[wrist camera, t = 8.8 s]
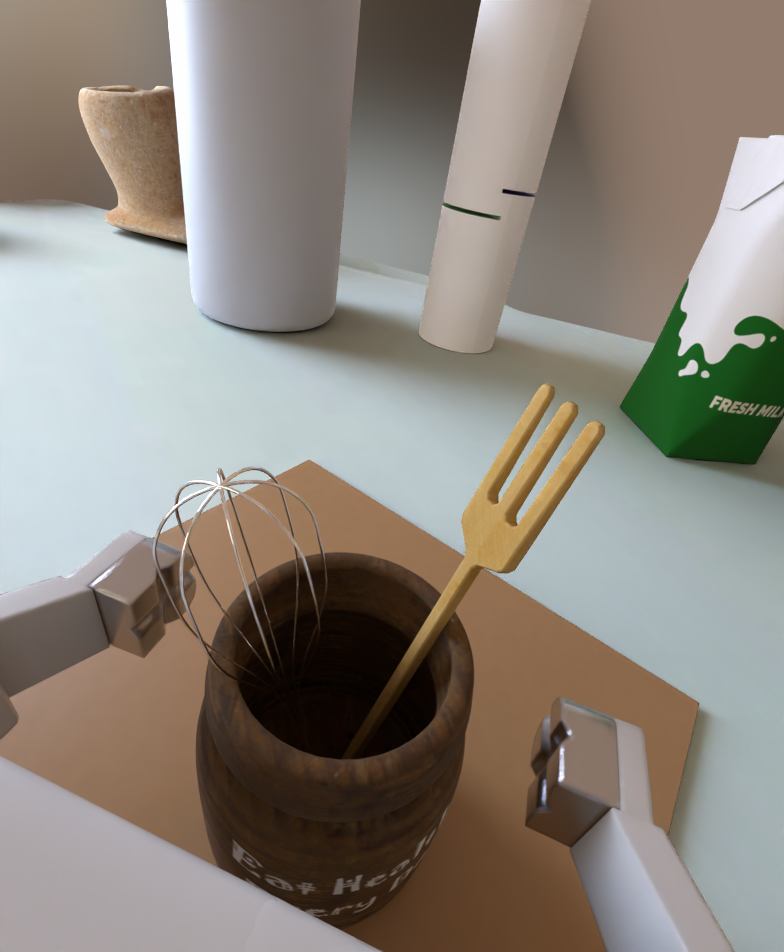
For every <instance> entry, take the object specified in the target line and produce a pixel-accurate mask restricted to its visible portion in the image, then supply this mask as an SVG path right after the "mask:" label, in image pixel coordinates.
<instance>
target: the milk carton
mask: <svg viewBox="0 0 784 952" xmlns="http://www.w3.org/2000/svg"><path fill="white" fill-rule="evenodd" d="M620 408H621V409H622V410H623V411H624V412H625V413H626V414H627V415H628V416H629V417H630V419H631V420H632V421H633V422H634V423H635V424H636V425H637V426H638V427H639V428H640V429H641V430H642V431H643V432H644V433H645V434H646V435H647V436H648V437H649V439H650V440H651V441H652V442H653V443H654V444H655V445H656V446H657V447H658V448H659V449H660V450H661V451H662V452H663V453H664V454H665V455H666V456H667V457H679V458H690V459H701V460H713V461H724V462H735V463H747V464H756V462H757V460H758V459H759V457H760V455H761V454H762V452H763V450H764V449H765V447H766V445H767V444H768V442H769V440H770V439H771V437H772V435H773V434H774V432H775V430H776V429H777V427H778V425H779V424H780V422H781V420H782V419H783V417H784V136H782V135H773V136H770V137H769V138H768V139H767V138H749V137H740V138H739V142H738V146H737V149H736V153H735V156H734V160H733V163H732V167H731V170H730V174H729V177H728V181H727V184H726V188H725V191H724V195H723V198H722V202H721V205H720V208H719V212H718V214H717V217H716V220H715V222H714V224H713V226H712V228H711V231H710V233H709V235H708V237H707V239H706V241H705V243H704V245H703V247H702V249H701V251H700V253H699V256H698V258H697V260H696V262H695V264H694V266H693V268H692V270H691V272H690V274H689V276H688V278H687V280H686V282H685V285H684V287H683V289H682V291H681V293H680V295H679V297H678V299H677V301H676V303H675V305H674V307H673V310H672V311H671V313H670V316H669V318H668V320H667V322H666V324H665V326H664V328H663V330H662V332H661V334H660V336H659V338H658V340H657V342H656V344H655V346H654V348H653V350H652V352H651V354H650V356H649V357H648V359H647V361H646V363H645V364H644V366H643V368H642V369H641V371H640V373H639V374H638V376H637V378H636V380H635V381H634V383H633V385H632V386H631V388H630V390H629V391H628V393H627V395H626V397H625V398H624V400H623V402H622V403H621V405H620Z"/></svg>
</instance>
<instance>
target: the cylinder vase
mask: <svg viewBox="0 0 784 952" xmlns="http://www.w3.org/2000/svg"><path fill="white" fill-rule="evenodd" d="M166 2H167V12H168V25H169V37H170V48H171V60H172V72H173V84H174V96H175V107H176V119H177V131H178V142H179V154H180V166H181V178H182V189H183V201H184V213H185V224H186V236H187V248H188V259H189V271H190V283H191V294H192V300H193V302H194V304H195V305H196V307H197V308H198V309H199V310H200V311H201V312H202V313H204V314H205V315H207V316H208V317H210V318H212V319H214V320H216V321H219V322H222V323H225V324H228V325H231V326H235V327H239V328H244V329H250V330H258V331H270V332H290V331H300V330H306V329H311V328H314V327H317V326H320V325H322V324H324V323H326V322H327V321H328V320H329V319H330V318H331V317H332V316H333V314H334V311H335V304H336V292H337V280H338V268H339V256H340V244H341V243H340V242H341V231H342V219H343V207H344V194H345V183H346V171H347V159H348V147H349V135H350V123H351V111H352V98H353V87H354V75H355V63H356V51H357V39H358V27H359V14H360V2H361V0H166Z"/></svg>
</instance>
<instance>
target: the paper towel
mask: <svg viewBox="0 0 784 952" xmlns="http://www.w3.org/2000/svg"><path fill="white" fill-rule="evenodd" d="M275 478H276V479H277V481H278V482H279V484H280V485H281V486H284V487H286V488H288V489H290V490H291V491H293V492H294V493H296V494H297V495H298V496H300V497H301V498H302V499H303V500H304V501H305V502H306V503H307V505H308V506H309V507H310V509H311V510H312V512H313V514H314V517H315V520H316V523H317V526H318V530H319V534H320V539H321V543H322V547H323V552H324V553H331V552H348V553H358V554H365V555H370V556H374V557H378V558H382V559H385V560H388V561H391V562H393V563H396V564H398V565H400V566H403V567H404V568H406V569H408V570H410V571H412V572H414V573H415V574H417V575H418V576H420V577H421V578H423V579H424V580H426V581H427V582H428V583H429V584H431V585H432V586H433V587H434V588H435V589H436V590H437V591H438V592H439V593H440V594H441V595H442V593H443V592H444V590H445V589H446V587H447V585H448V584H449V582H450V580H451V579H452V577H453V576H454V574H455V572H456V571H457V569H458V567H459V566H460V564H461V562H462V561H463V559H464V557H465V556H463V555H461V554H460V553H458V552H457V551H455V550H453V549H452V548H450V547H449V546H447V545H445V544H444V543H442V542H441V541H439V540H437V539H436V538H434V537H433V536H431V535H429V534H428V533H426V532H425V531H423V530H421V529H420V528H418V527H417V526H415V525H413V524H412V523H410V522H409V521H407V520H405V519H404V518H402V517H401V516H399V515H397V514H396V513H394V512H393V511H391V510H389V509H388V508H386V507H385V506H383V505H381V504H380V503H378V502H377V501H375V500H373V499H372V498H370V497H368V496H367V495H365V494H364V493H362V492H360V491H359V490H357V489H356V488H354V487H352V486H351V485H349V484H348V483H346V482H344V481H343V480H341V479H340V478H338V477H336V476H335V475H333V474H332V473H330V472H328V471H327V470H325V469H324V468H322V467H320V466H319V465H317V464H316V463H314V462H312V461H311V460H308V461H306V462H304V463H302V464H300V465H298V466H296V467H294V468H292V469H290V470H288V471H286V472H284V473H282V474H280V475H278V476H276V477H275ZM268 482H272V483H275V482H274V480H273V479H270V480H268ZM282 491H283V494H284V497H285V500H286V504H287V508H288V511H289V515H290V519H291V523H292V527H293V531H294V536H295V541H296V542H297V544H298V546H299V547H300V549H301V551H302V553H303V555H304V556H309V555H314V554H320V553H321V551H320V547H319V543H318V538H317V534H316V530H315V526H314V523H313V520H312V518H311V515H310V513H309V511H308V510H307V508H306V507H305V506H304V505H303V504H302V503H301V501H299V500H298V499H297V498H296V497H295V496H293V495H292V494H290V493H289V492H287V491H285V490H283V489H282ZM243 493H244V494H246V495H247V496H249V497H251V498H253V499H254V500H255V501H257V502H258V503H260V504H261V505H263V506H264V507H265V508H266V509H268V510H269V511H270V512H271V513H272V514H273V515H274V516H275V517H276V518H277V519H278V520H279V521H280V522H281V523H282V524H283V525H284V526H285V527H286V529H287V530H288V531H289V533H290V534H291V530H290V526H289V522H288V518H287V515H286V511H285V507H284V503H283V500H282V497H281V494H280V491H279V489H278V488H277V487H274V486H270V485H266V484H259V485H257V486H255V487H253V488H251V489H249V490H247V491H245V492H243ZM232 499H233V502H234V505H235V508H236V511H237V515H238V518H239V521H240V524H241V527H242V530H243V533H244V536H245V540H246V543H247V546H248V549H249V552H250V556H251V559H252V562H253V566H254V569H255V572H256V576H257V578H258V577H260V576H261V575H263V574H264V573H266V572H268V571H269V570H271V569H273V568H275V567H277V566H279V565H281V564H284V563H286V562H288V561H291V560H294V559H295V551H294V544H293V543H292V541H291V540H290V538H289V537H288V536H287V534H286V533H285V532H284V531H283V529H282V528H281V527H280V526H279V525H278V524H277V523H276V522H275V521H274V520H273V519H272V518H271V517H270V516H269V515H268V514H267V513H266V512H264V511H263V510H262V509H261V508H259V507H258V506H257V505H255V504H254V503H252V502H251V501H249V500H247V499H246V498H244V497H242V496H240V495H237V496H235V497H233V498H232ZM226 505H227V510H228V514H229V518H230V522H231V526H232V530H233V534H234V538H235V542H236V545H237V549H238V553H239V556H240V560H241V563H242V567H243V570H244V574H245V577H246V581H247V584H248V585H249V584H251V583H252V582H253V581H254V580H255V578H254V574H253V571H252V568H251V564H250V561H249V558H248V555H247V552H246V548H245V545H244V542H243V539H242V536H241V533H240V530H239V527H238V523H237V520H236V517H235V514H234V511H233V508H232V505H231V502H230V499H229V500H227V501H226ZM193 519H194V517H193V518H191V519H189V520H187V521H185V522H183V523H182V526H183V529H184V531H185V534H186V535H187V532H188V530H189V527H190V525H191V523H192V521H193ZM291 535H292V534H291ZM154 538H155V537H153V538H152V539H154ZM158 541H159V542H162V543H164V544H166V545H169V546H171V547H174V548H176V549H179V550H181V551H182V549H183V545H184V541H185V540H184V537H183V535H182V532H181V530H180V527H179V525H177V526H175V527H173V528H171V529H169V530H167V531H165V532H163V533H161V534H159V537H158ZM188 542H189V544H190V547H191V549H192V552H193V554H194V557H195V559H196V561H197V564H198V566H199V568H200V570H201V572H202V574H203V576H204V578H205V580H206V582H207V584H208V586H209V587H210V589H211V591H212V592H213V594H214V595H215V597H216V599H217V600H218V602H219V603H220V604H221V606H222V607H223V609H224V610H225V611H227V609H228V608H229V606H230V605H231V604H232V602H233V601H234V600H235V599H236V597H237V596H238V595H239V594H240V593H241V592H242V591H243V590H244V589H245V587H244V584H243V580H242V577H241V574H240V570H239V567H238V563H237V560H236V556H235V553H234V549H233V545H232V541H231V538H230V534H229V530H228V526H227V522H226V518H225V514H224V509H223V505H222V503H221V504H219V505H217V506H215V507H213V508H211V509H209V510H207V511H205V512H203V513H201V514H200V515H199V517H198V519H197V521H196V523H195V525H194V528H193V530H192V532H191V535H190V538H189V541H188ZM186 553H188V554H190V552H189V550H188V547H187V549H186ZM297 553H298V551H297ZM298 558H301V557H300V554H299V553H298ZM189 571H190V572H191V574H192V575H193V576H194V578H195V579H196V592H195V597H194V599H193V600H192V602H191V604H190V606H189V608H190V610H191V613H192V615H193V617H194V620H195V622H196V625H197V627H198V629H199V632H200V634H201V636H202V638H203V640H204V641H205V642H206V643H207V644H209V645H210V646H211V647H212V642H213V639H214V636H215V633H216V631H217V628H218V626H219V624H220V621H221V620H222V618H223V616H224V613H223V612H222V611H221V609H220V608H219V606H218V605H217V603H216V602H215V601H214V599H213V597H212V596H211V594H210V593H209V591H208V589H207V588H206V586H205V584H204V583H203V581H202V579H201V577H200V575H199V573H198V571H197V569H196V566H195V564H194V566H193V567H192V568H191V569H190V570H189ZM455 612H456V614H457V615H458V617H459V619H460V621H461V623H462V624H463V627H464V629H465V631H466V633H467V636H468V639H469V642H470V646H471V650H472V655H473V661H474V688H473V698H472V706H471V712H470V718H469V722H468V725H467V729H466V732H465V749H464V759H463V764H462V769H461V773H460V777H459V781H458V784H457V787H456V790H455V793H454V796H453V799H452V801H451V804H450V806H449V808H448V810H447V812H446V815H445V817H444V819H443V821H442V823H441V825H440V827H439V829H438V831H437V833H436V835H435V837H434V839H433V840H432V842H431V844H430V846H429V848H428V850H427V851H426V853H425V855H424V857H423V859H422V860H421V862H420V864H419V865H418V867H417V869H416V870H415V872H414V873H413V875H412V876H411V878H410V879H409V880H408V882H407V883H406V884H405V885H404V887H403V888H402V889H401V890H400V892H399V893H398V894H397V895H396V896H395V897H394V898H393V899H392V900H391V901H390V902H389V903H387V904H386V905H385V906H384V907H383V908H382V909H380V910H379V911H377V912H376V913H375V914H373V915H372V916H370V917H369V918H367V919H365V920H364V921H362V922H360V923H358V924H356V925H353V926H351V927H348V928H345V929H342V930H341V931H343V932H345V933H347V934H349V935H351V936H353V937H355V938H357V939H359V940H361V941H363V942H365V943H367V944H369V945H370V946H372V947H374V948H376V949H378V950H380V951H382V952H607V951H606V948H605V946H604V943H603V940H602V938H601V935H600V932H599V929H598V927H597V924H596V921H595V918H594V916H593V913H592V910H591V907H590V905H589V902H588V899H587V897H586V894H585V891H584V888H583V886H582V883H581V880H580V877H579V875H578V872H577V869H576V867H575V864H574V861H573V858H572V856H571V853H570V849H571V848H570V847H568V846H566V845H564V844H562V843H560V842H558V841H556V840H553V839H551V838H549V837H547V836H545V835H543V834H541V833H539V832H536V831H534V830H532V829H530V828H528V827H526V826H525V818H526V807H527V795H528V788H529V787H530V785H531V784H532V782H533V781H534V779H535V778H536V776H535V774H534V772H533V770H532V767H531V765H530V762H531V753H532V747H533V741H534V738H535V735H536V732H537V729H538V726H539V725H540V723H541V721H542V719H543V718H544V717H548V716H551V705H552V704H553V702H554V701H555V700H556V698H558V697H562V698H565V699H568V700H571V701H573V702H576V703H579V704H581V705H584V706H587V707H589V708H592V709H595V710H598V711H600V712H603V713H606V714H608V715H611V717H614V718H616V719H619V720H622V721H625V722H627V723H630V724H633V725H635V726H638V727H640V728H641V729H642V731H643V733H644V735H645V744H646V754H647V763H648V772H649V781H650V790H651V799H652V809H653V818H654V825H656V826H658V827H661V828H663V829H664V831H665V833H666V835H667V836H668V834H669V829H670V825H671V821H672V817H673V813H674V808H675V804H676V800H677V796H678V791H679V787H680V783H681V779H682V775H683V770H684V766H685V762H686V758H687V754H688V749H689V745H690V741H691V737H692V733H693V728H694V724H695V720H696V716H697V712H698V707H699V703H698V702H697V701H695V700H694V699H692V698H690V697H689V696H687V695H686V694H684V693H682V692H681V691H679V690H678V689H676V688H674V687H673V686H671V685H670V684H668V683H666V682H665V681H663V680H662V679H660V678H658V677H657V676H655V675H654V674H652V673H650V672H649V671H647V670H646V669H644V668H642V667H641V666H639V665H638V664H636V663H634V662H633V661H631V660H630V659H628V658H626V657H625V656H623V655H622V654H620V653H618V652H617V651H615V650H614V649H612V648H610V647H609V646H607V645H606V644H604V643H602V642H601V641H599V640H598V639H596V638H594V637H593V636H591V635H590V634H588V633H586V632H585V631H583V630H582V629H580V628H578V627H577V626H575V625H573V624H572V623H570V622H569V621H567V620H565V619H564V618H562V617H561V616H559V615H557V614H556V613H554V612H553V611H551V610H549V609H548V608H546V607H545V606H543V605H541V604H540V603H538V602H537V601H535V600H533V599H532V598H530V597H529V596H527V595H525V594H524V593H522V592H521V591H519V590H517V589H516V588H514V587H513V586H511V585H509V584H508V583H506V582H505V581H503V580H501V579H500V578H498V577H497V576H495V575H493V574H492V573H490V572H489V571H487V570H485V569H484V568H482V569H481V571H480V572H479V574H478V576H477V577H476V579H475V580H474V582H473V583H472V585H471V586H470V588H469V589H468V591H467V593H466V594H465V596H464V597H463V599H462V600H461V602H460V603H459V605H458V607H457V608H456V610H455ZM182 616H183V617H184V619H185V620H186V622H187V623H188V625H189V626H190V627H191V628H192V629H193V631H194V632H195V629H194V627H193V625H192V622H191V620H190V618H189V615H188V613H187V611H186V612H185V613H184V614H183V615H182ZM195 633H196V632H195ZM207 648H208V647H207ZM208 650H209V652H210V651H211V650H210V649H209V648H208ZM208 660H209V657H208V656H207V654H206V652H205V650H204V648H203V647H202V645H201V643H200V641H199V640H198V639H197V638H196V637H195V636H194V635H193V634H192V633H191V632H190V631H189V630H188V628H187V627H186V626H185V625H184V623H183V622H182V620H181V619H178V620H175V621H173V622H170V623H168V624H167V625H166V635H165V636H164V637H163V638H162V639H161V640H160V641H159V642H158V643H157V645H156V646H155V647H154V648H153V649H152V650H151V651H150V652H149V653H148V655H147V656H146V657H145V658H142V657H139V656H137V655H134V654H132V653H129V652H127V651H124V650H122V649H119V648H117V647H114V646H112V645H110V647H109V648H107V649H105V650H103V651H101V652H99V653H97V654H95V655H93V656H91V657H89V658H87V659H85V660H83V661H81V662H79V663H77V664H75V665H73V666H71V667H70V668H68V669H66V670H64V671H62V672H60V673H58V674H56V675H54V676H52V677H50V678H48V679H46V680H44V681H42V682H40V683H38V684H36V685H34V686H32V687H30V688H28V689H26V690H24V691H22V692H20V693H18V694H16V695H14V696H12V697H10V700H11V702H12V704H13V705H14V707H15V709H16V711H17V713H18V714H19V718H18V723H17V724H16V725H15V726H14V727H13V728H12V729H11V730H10V731H9V732H8V733H7V734H6V735H5V736H4V737H3V738H2V739H1V740H0V756H2V757H4V758H6V759H8V760H10V761H12V762H14V763H16V764H17V765H19V766H21V767H23V768H25V769H27V770H29V771H31V772H33V773H35V774H37V775H39V776H41V777H43V778H45V779H47V780H49V781H51V782H53V783H55V784H56V785H58V786H60V787H62V788H64V789H66V790H68V791H70V792H72V793H74V794H76V795H78V796H80V797H82V798H84V799H86V800H88V801H90V802H92V803H94V804H96V805H97V806H99V807H101V808H103V809H105V810H107V811H109V812H111V813H113V814H115V815H117V816H119V817H121V818H123V819H125V820H127V821H129V822H131V823H133V824H135V825H136V826H138V827H140V828H142V829H144V830H146V831H148V832H150V833H152V834H154V835H156V836H158V837H160V838H162V839H164V840H166V841H168V842H170V843H172V844H174V845H175V846H177V847H179V848H181V849H183V850H185V851H187V852H189V853H191V854H193V855H195V856H197V857H199V858H201V859H203V860H205V861H207V862H209V863H211V864H213V865H214V866H216V867H218V866H217V864H216V861H215V858H214V856H213V853H212V850H211V846H210V843H209V840H208V836H207V831H206V826H205V821H204V816H203V811H202V806H201V800H200V794H199V788H198V780H197V771H196V731H197V724H198V718H199V714H200V709H201V705H202V701H203V698H204V691H205V677H206V670H207V664H208Z"/></svg>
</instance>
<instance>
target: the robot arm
mask: <svg viewBox="0 0 784 952" xmlns="http://www.w3.org/2000/svg"><path fill="white" fill-rule="evenodd" d="M153 543H154V539H152V538H150V537H147V536H145V535H142V534H140V533H137V532H134V531H132V530H131V531H128V532H125V533H122V534H121V535H119V536H118V537H117V538H116V539H114V540H113V541H112V542H111V543H109V544H108V545H107V546H106V547H104V548H103V549H102V550H101V551H99V552H98V553H97V554H95V555H94V556H93V557H92V558H90V559H89V560H88V561H87V562H85V563H84V564H83V565H82V566H80V567H79V568H78V569H77V570H75V571H74V572H73V573H72V574H70V575H69V576H68V577H66V578H65V577H62V576H58V577H55V578H51V579H48V580H45V581H42V582H38V583H35V584H32V585H29V586H25V587H22V588H19V589H16V590H13V591H9V592H6V593H3V594H0V740H1V739H2V738H3V737H4V736H5V735H6V734H7V733H8V732H9V731H10V730H11V729H12V728H13V727H14V726H15V725H16V724H17V723H18V718H19V714H18V713H17V711H16V709H15V707H14V705H13V704H12V702H11V700H10V697H12V696H14V695H16V694H18V693H20V692H22V691H24V690H26V689H28V688H30V687H32V686H34V685H36V684H38V683H40V682H42V681H44V680H46V679H48V678H50V677H52V676H54V675H56V674H58V673H60V672H62V671H64V670H66V669H68V668H70V667H71V666H73V665H75V664H77V663H79V662H81V661H83V660H85V659H87V658H89V657H91V656H93V655H95V654H97V653H99V652H101V651H103V650H105V649H107V648H109V647H110V645H112V646H114V647H117V648H119V649H122V650H124V651H127V652H129V653H132V654H134V655H137V656H139V657H142V658H145V657H146V656H147V655H148V653H149V652H150V651H151V650H152V649H153V648H154V647H155V646H156V645H157V643H158V642H159V641H160V640H161V639H162V638H163V637H164V636H165V635H166V625H167V624H168V623H170V622H173V621H175V620H178V619H180V617H179V616H178V614H177V612H176V610H175V608H174V607H173V604H172V602H171V600H170V598H169V596H168V594H167V592H166V589H165V587H164V585H163V583H162V580H161V578H160V576H159V574H158V571H157V568H156V565H155V562H154V557H153ZM181 554H182V551H181V550H179V549H176V548H174V547H171V546H169V545H166V544H164V543H162V542H159V541H157V559H158V562H159V566H160V569H161V572H162V574H163V576H164V578H165V581H166V583H167V585H168V588H169V590H170V592H171V595H172V597H173V599H174V601H175V603H176V605H177V607H178V609H179V611H180V612H181V614H182V615H183V614H184V613H185V612H186V608H185V605H184V602H183V599H182V596H181V590H180V581H179V577H180V561H181ZM193 566H194V562H193V560H192V557H191V555H190V554H188V553H186V554H185V560H184V570H183V582H184V591H185V596H186V599H187V602H188V605H189V606H190V604H191V602H192V600H193V599H194V597H195V592H196V579H195V578H194V576H193V575H192V574H191V572H190V571H189V570H190V569H191V568H192V567H193ZM530 765H531V767H532V770H533V772H534V774H535V776H536V778H535V779H534V781H533V782H532V784H531V785H530V787H529V788H528V795H527V807H526V818H525V826H526V827H528V828H530V829H532V830H534V831H536V832H539V833H541V834H543V835H545V836H547V837H549V838H551V839H553V840H556V841H558V842H560V843H562V844H564V845H566V846H568V847H570V848H571V849H570V853H571V856H572V858H573V861H574V864H575V867H576V869H577V872H578V875H579V877H580V880H581V883H582V886H583V888H584V891H585V894H586V897H587V899H588V902H589V905H590V907H591V910H592V913H593V916H594V918H595V921H596V924H597V927H598V929H599V932H600V935H601V938H602V940H603V943H604V946H605V948H606V951H607V952H735V951H734V950H733V948H732V946H731V944H730V943H729V941H728V939H727V938H726V936H725V934H724V932H723V931H722V929H721V927H720V926H719V924H718V922H717V920H716V919H715V917H714V915H713V914H712V912H711V910H710V908H709V907H708V905H707V903H706V902H705V900H704V898H703V896H702V895H701V893H700V891H699V890H698V888H697V886H696V884H695V883H694V881H693V879H692V877H691V876H690V874H689V872H688V871H687V869H686V867H685V865H684V864H683V862H682V860H681V859H680V857H679V855H678V853H677V852H676V850H675V848H674V847H673V845H672V843H671V841H670V840H669V838H668V836H667V835H666V833H665V831H664V829H663V828H661V827H658V826H656V825H654V818H653V809H652V799H651V790H650V781H649V772H648V763H647V754H646V744H645V735H644V733H643V731H642V729H641V728H640V727H638V726H635V725H633V724H630V723H627V722H625V721H622V720H619V719H616V718H614V717H611V715H608V714H606V713H603V712H600V711H598V710H595V709H592V708H589V707H587V706H584V705H581V704H579V703H576V702H573V701H571V700H568V699H565V698H562V697H558V698H556V700H555V701H554V702H553V704H552V705H551V716H548V717H544V718H543V719H542V721H541V723H540V725H539V726H538V729H537V732H536V735H535V738H534V741H533V747H532V753H531V762H530ZM0 952H382V951H380V950H378V949H376V948H374V947H372V946H370V945H369V944H367V943H365V942H363V941H361V940H359V939H357V938H355V937H353V936H351V935H349V934H347V933H345V932H343V931H341V930H339V929H337V928H335V927H333V926H331V925H330V924H328V923H326V922H324V921H322V920H320V919H318V918H316V917H314V916H312V915H310V914H308V913H306V912H304V911H302V910H300V909H298V908H296V907H294V906H292V905H291V904H289V903H287V902H285V901H283V900H281V899H279V898H277V897H275V896H273V895H271V894H269V893H267V892H265V891H263V890H261V889H259V888H257V887H255V886H253V885H252V884H250V883H248V882H246V881H244V880H242V879H240V878H238V877H236V876H234V875H232V874H230V873H228V872H226V871H224V870H222V869H220V868H218V867H216V866H214V865H213V864H211V863H209V862H207V861H205V860H203V859H201V858H199V857H197V856H195V855H193V854H191V853H189V852H187V851H185V850H183V849H181V848H179V847H177V846H175V845H174V844H172V843H170V842H168V841H166V840H164V839H162V838H160V837H158V836H156V835H154V834H152V833H150V832H148V831H146V830H144V829H142V828H140V827H138V826H136V825H135V824H133V823H131V822H129V821H127V820H125V819H123V818H121V817H119V816H117V815H115V814H113V813H111V812H109V811H107V810H105V809H103V808H101V807H99V806H97V805H96V804H94V803H92V802H90V801H88V800H86V799H84V798H82V797H80V796H78V795H76V794H74V793H72V792H70V791H68V790H66V789H64V788H62V787H60V786H58V785H56V784H55V783H53V782H51V781H49V780H47V779H45V778H43V777H41V776H39V775H37V774H35V773H33V772H31V771H29V770H27V769H25V768H23V767H21V766H19V765H17V764H16V763H14V762H12V761H10V760H8V759H6V758H4V757H2V756H0Z"/></svg>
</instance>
